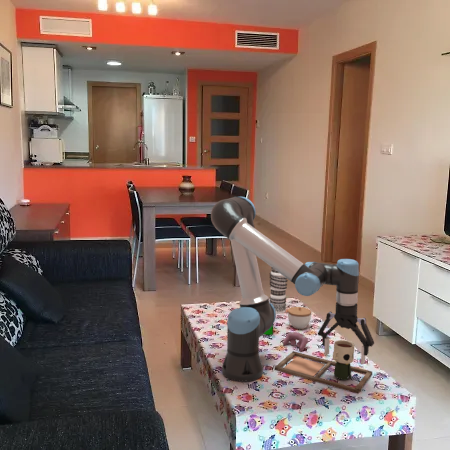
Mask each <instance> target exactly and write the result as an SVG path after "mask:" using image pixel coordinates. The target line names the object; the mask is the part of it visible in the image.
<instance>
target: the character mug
mask: <svg viewBox="0 0 450 450" xmlns="http://www.w3.org/2000/svg"><path fill="white" fill-rule="evenodd" d="M354 353H355V344H354V343H353V342H352V341H349V340H346V339H339V340H335V341H334V343H333V352H332V361H334V362H336V364H335V366H334V370H333V375H334V377H336V378H337V379H339V380H344V381H346V380H349V379H351V378H352V371H351V366H352V365H351V363H352V362H353V361H354V359H355V357H354V355H355V354H354Z"/></svg>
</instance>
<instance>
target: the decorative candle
mask: <svg viewBox="0 0 450 450" xmlns="http://www.w3.org/2000/svg"><path fill="white" fill-rule="evenodd" d="M270 267H271V266H270ZM269 285H270V286H269V289H270V295H269V302H270V303H271V304H272V305H273V306H274V308H275V311H276V314H283V313H286V311H287V294H286V292H287V291H286V290H287V289H288V288H287V286H288V279H287V278H286V277H284V276H283V275H282V274H280V273H279V272H278V271H276V270H275V269H273V268H272V267H271V269H270V272H269Z"/></svg>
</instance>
